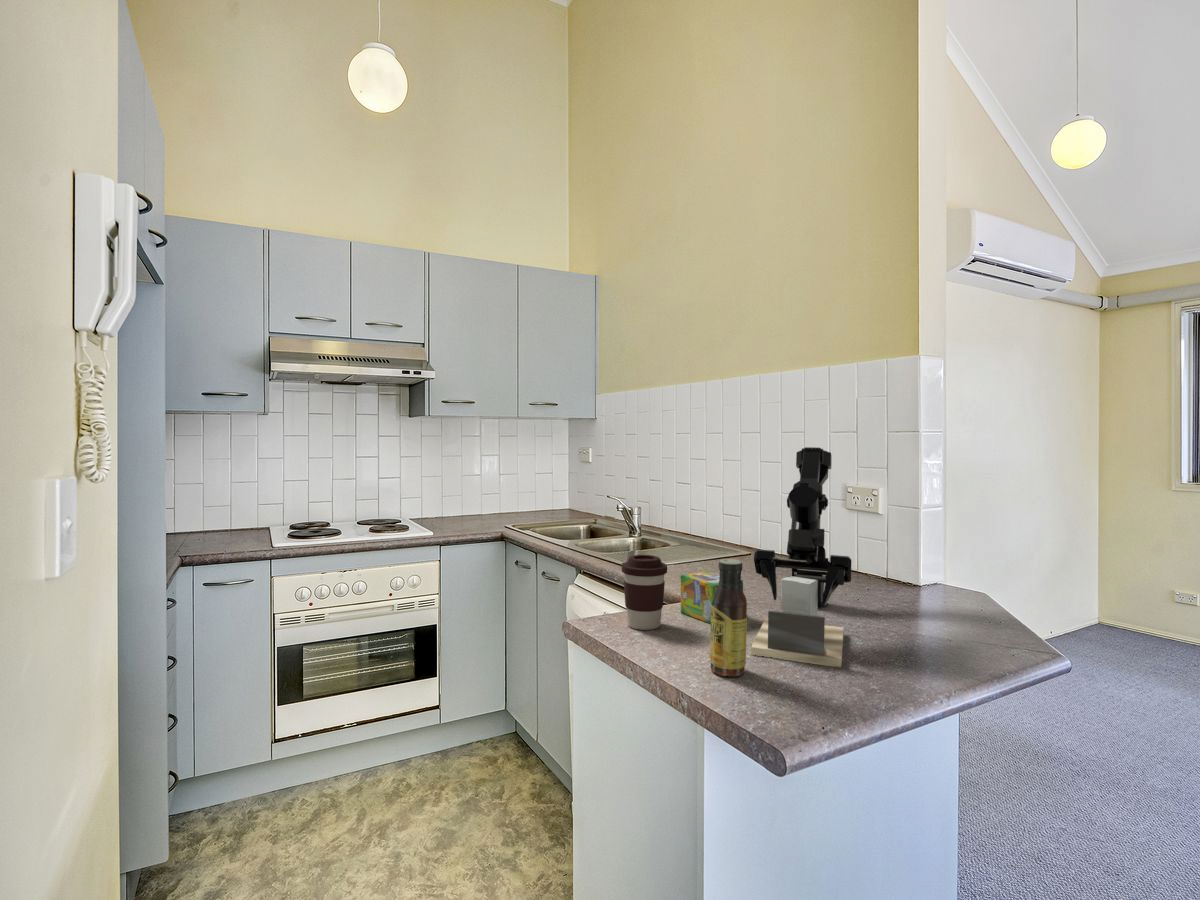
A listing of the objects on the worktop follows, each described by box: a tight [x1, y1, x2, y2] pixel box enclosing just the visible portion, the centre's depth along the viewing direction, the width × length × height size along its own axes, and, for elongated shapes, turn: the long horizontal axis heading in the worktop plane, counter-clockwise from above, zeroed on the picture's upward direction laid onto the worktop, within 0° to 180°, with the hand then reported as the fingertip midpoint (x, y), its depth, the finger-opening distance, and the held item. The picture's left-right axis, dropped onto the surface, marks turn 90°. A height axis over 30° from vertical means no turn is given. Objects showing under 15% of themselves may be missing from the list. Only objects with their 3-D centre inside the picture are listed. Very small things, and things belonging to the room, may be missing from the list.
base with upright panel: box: [750, 610, 844, 669], centre depth 123 cm, size 20×16×8 cm
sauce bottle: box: [709, 558, 748, 678], centre depth 108 cm, size 7×6×20 cm
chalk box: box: [680, 570, 744, 625], centre depth 140 cm, size 9×9×15 cm
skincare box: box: [780, 575, 819, 616], centre depth 121 cm, size 6×4×12 cm
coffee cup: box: [621, 554, 668, 631], centre depth 134 cm, size 10×10×15 cm
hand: (799, 601), depth 120 cm, fingers open, 9 cm apart
